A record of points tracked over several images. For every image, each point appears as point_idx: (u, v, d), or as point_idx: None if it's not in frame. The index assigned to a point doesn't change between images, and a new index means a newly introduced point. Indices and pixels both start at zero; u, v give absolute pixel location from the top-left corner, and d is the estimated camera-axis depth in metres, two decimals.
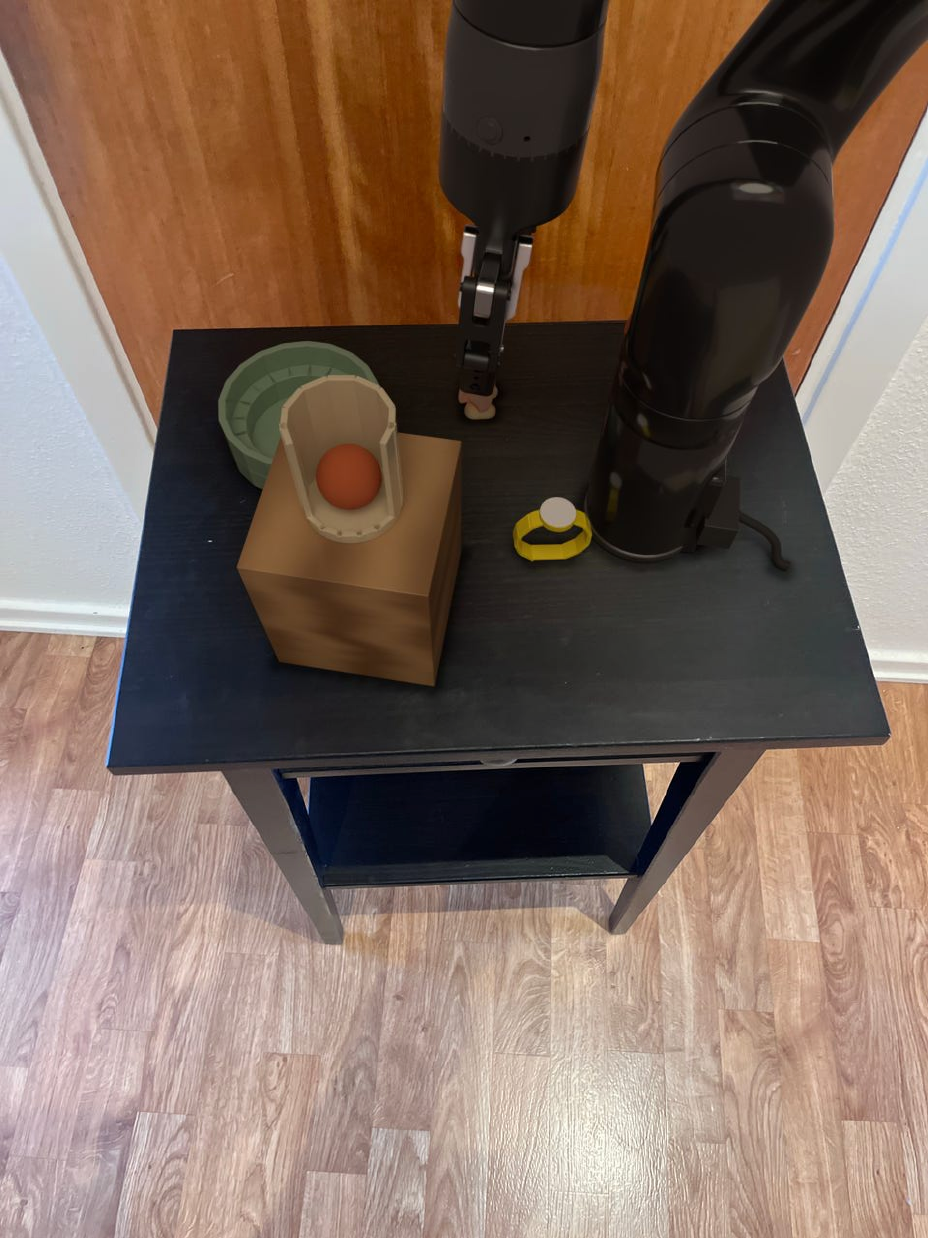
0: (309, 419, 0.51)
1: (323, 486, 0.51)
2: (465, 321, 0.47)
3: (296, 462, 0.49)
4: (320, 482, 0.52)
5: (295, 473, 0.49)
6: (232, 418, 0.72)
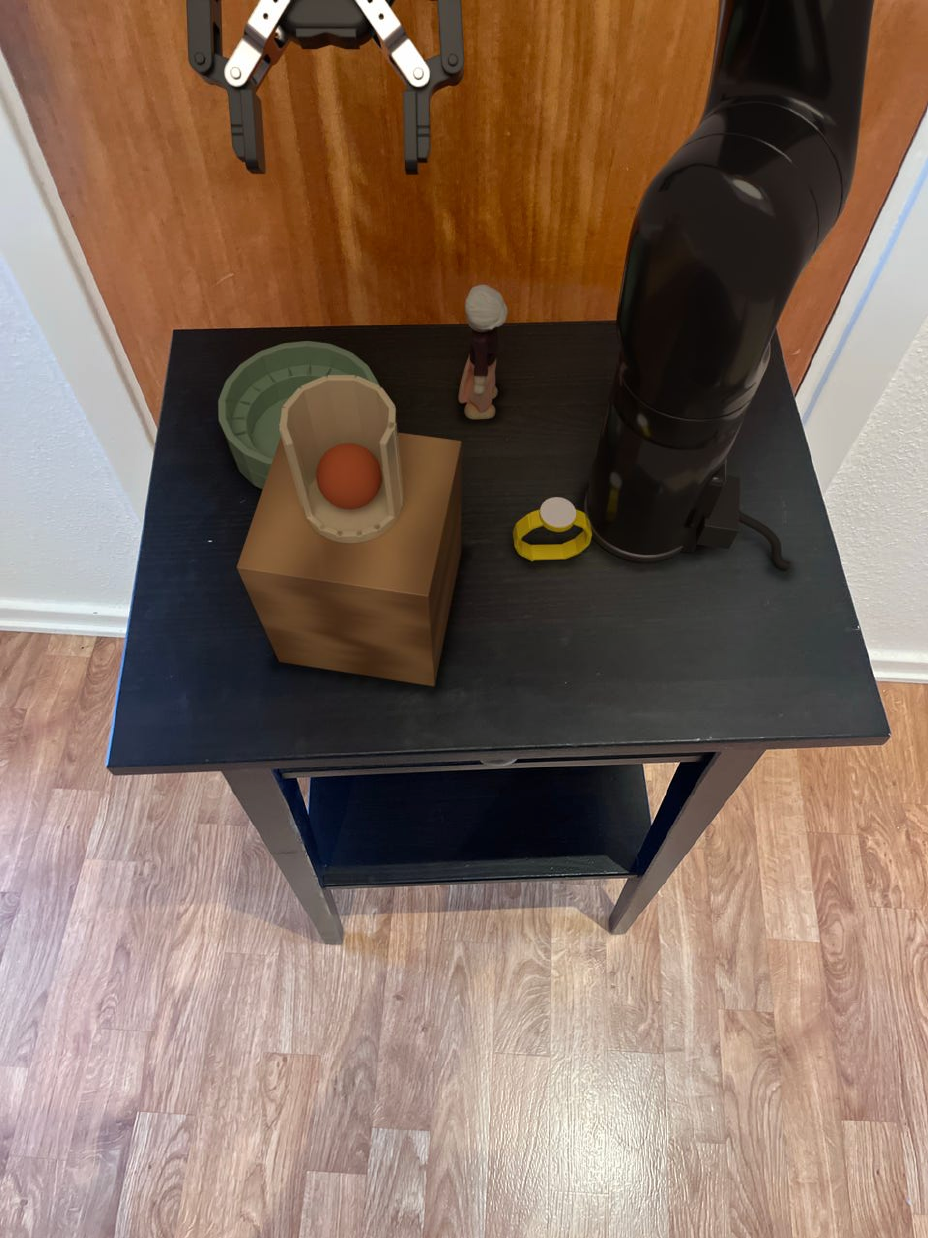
0: (309, 419, 0.51)
1: (323, 485, 0.51)
2: None
3: (296, 462, 0.49)
4: (320, 481, 0.52)
5: (295, 473, 0.49)
6: (232, 418, 0.72)
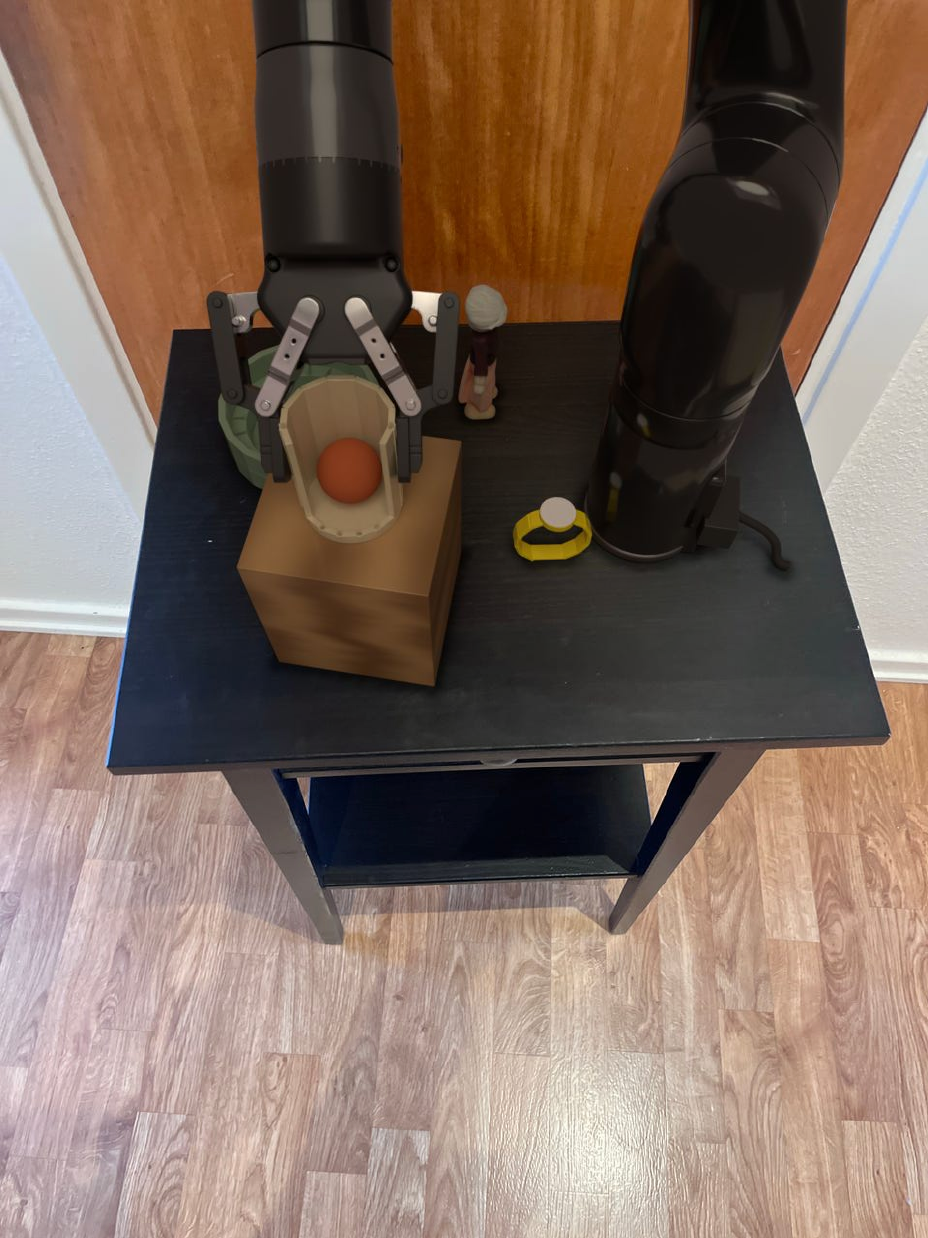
0: (309, 419, 0.51)
1: (323, 474, 0.52)
2: None
3: (296, 462, 0.49)
4: (320, 471, 0.52)
5: (295, 473, 0.49)
6: (232, 418, 0.72)
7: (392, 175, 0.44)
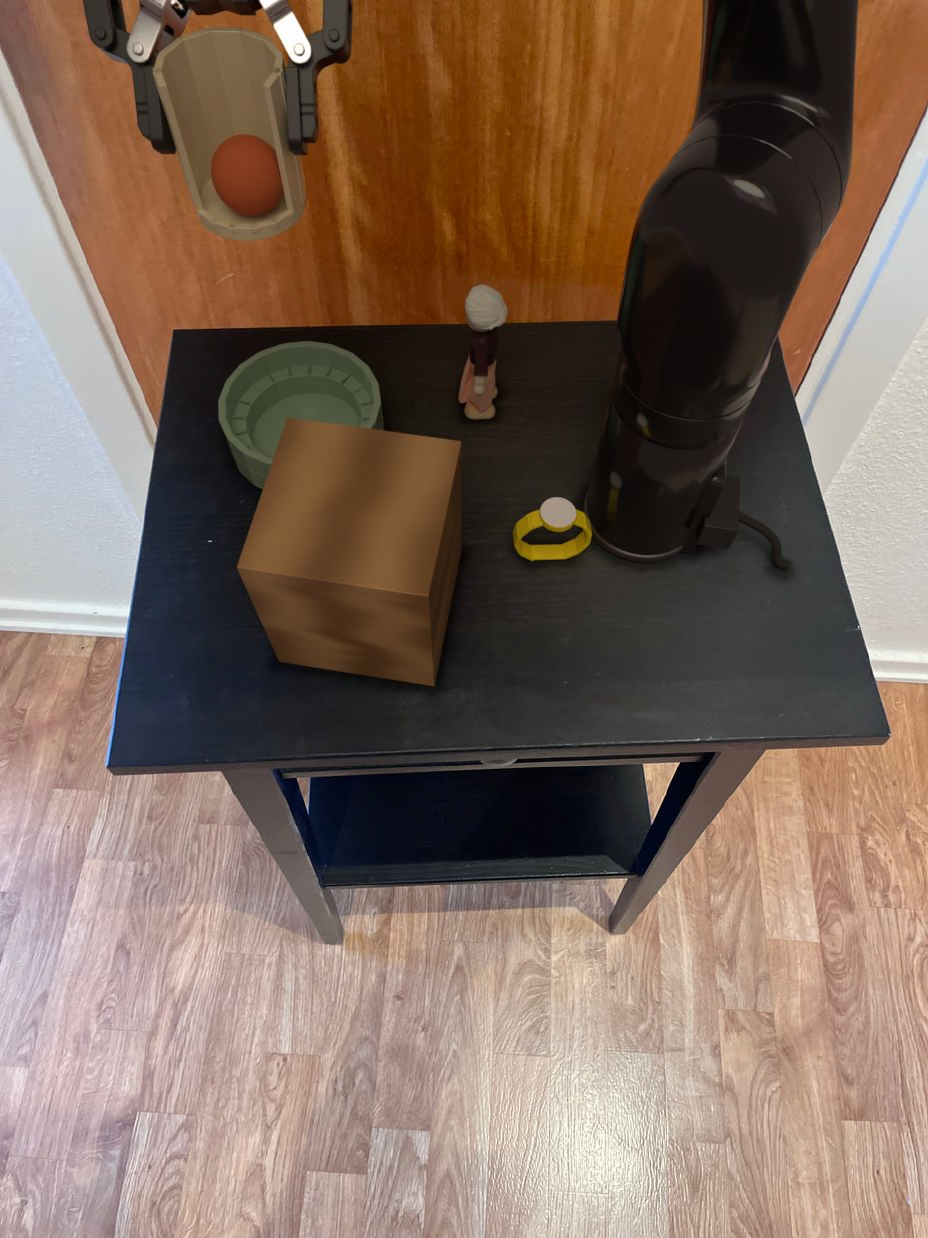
0: (194, 87, 0.46)
1: (214, 179, 0.47)
2: None
3: (174, 117, 0.44)
4: (212, 173, 0.47)
5: (175, 136, 0.45)
6: (232, 418, 0.72)
7: None
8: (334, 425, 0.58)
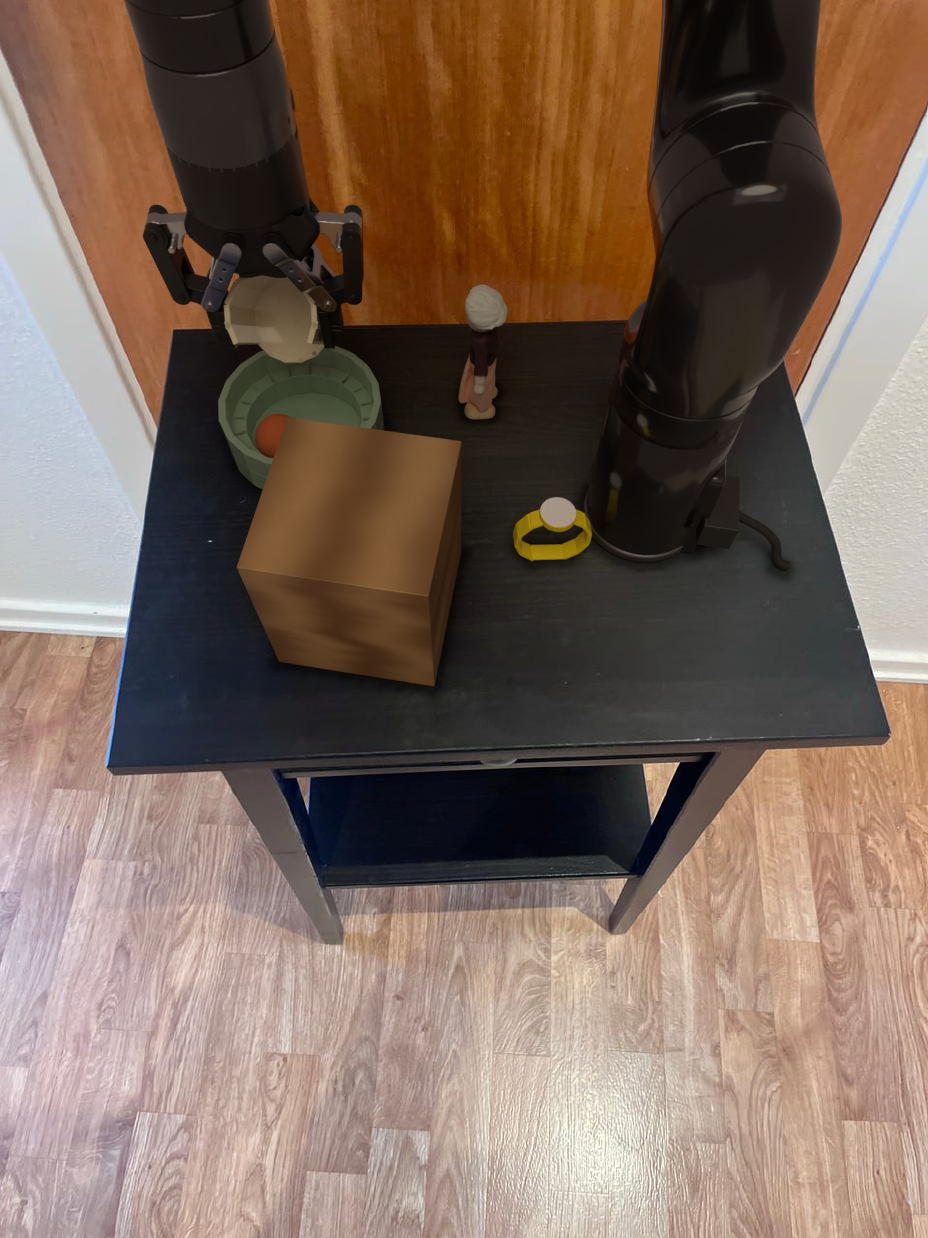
0: (246, 288, 0.61)
1: None
2: None
3: (243, 343, 0.62)
4: None
5: (243, 344, 0.62)
6: (232, 418, 0.72)
7: (288, 150, 0.48)
8: (334, 425, 0.58)
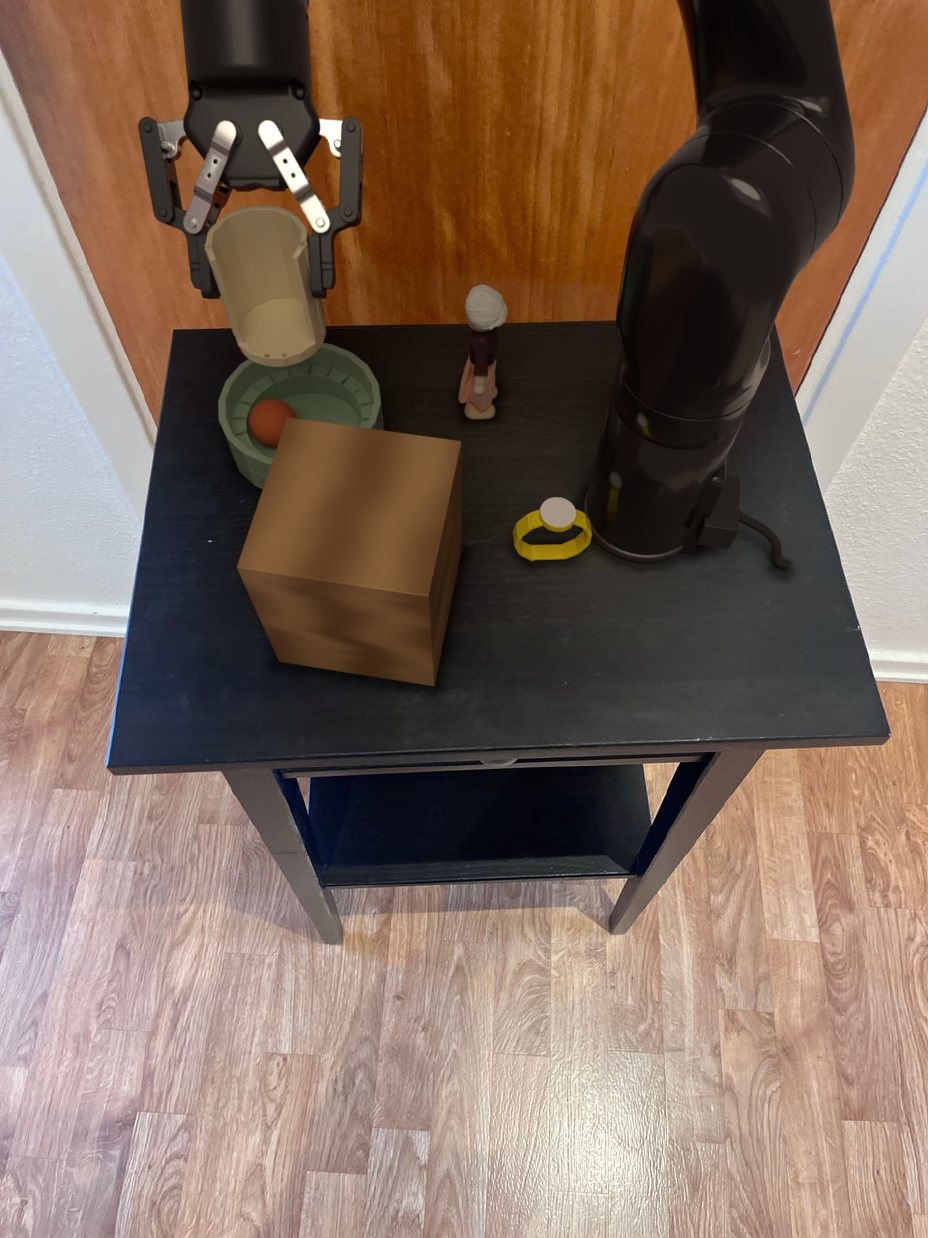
0: (235, 249, 0.58)
1: None
2: None
3: (221, 280, 0.55)
4: None
5: (222, 293, 0.56)
6: (232, 418, 0.72)
7: (297, 8, 0.51)
8: (334, 425, 0.58)
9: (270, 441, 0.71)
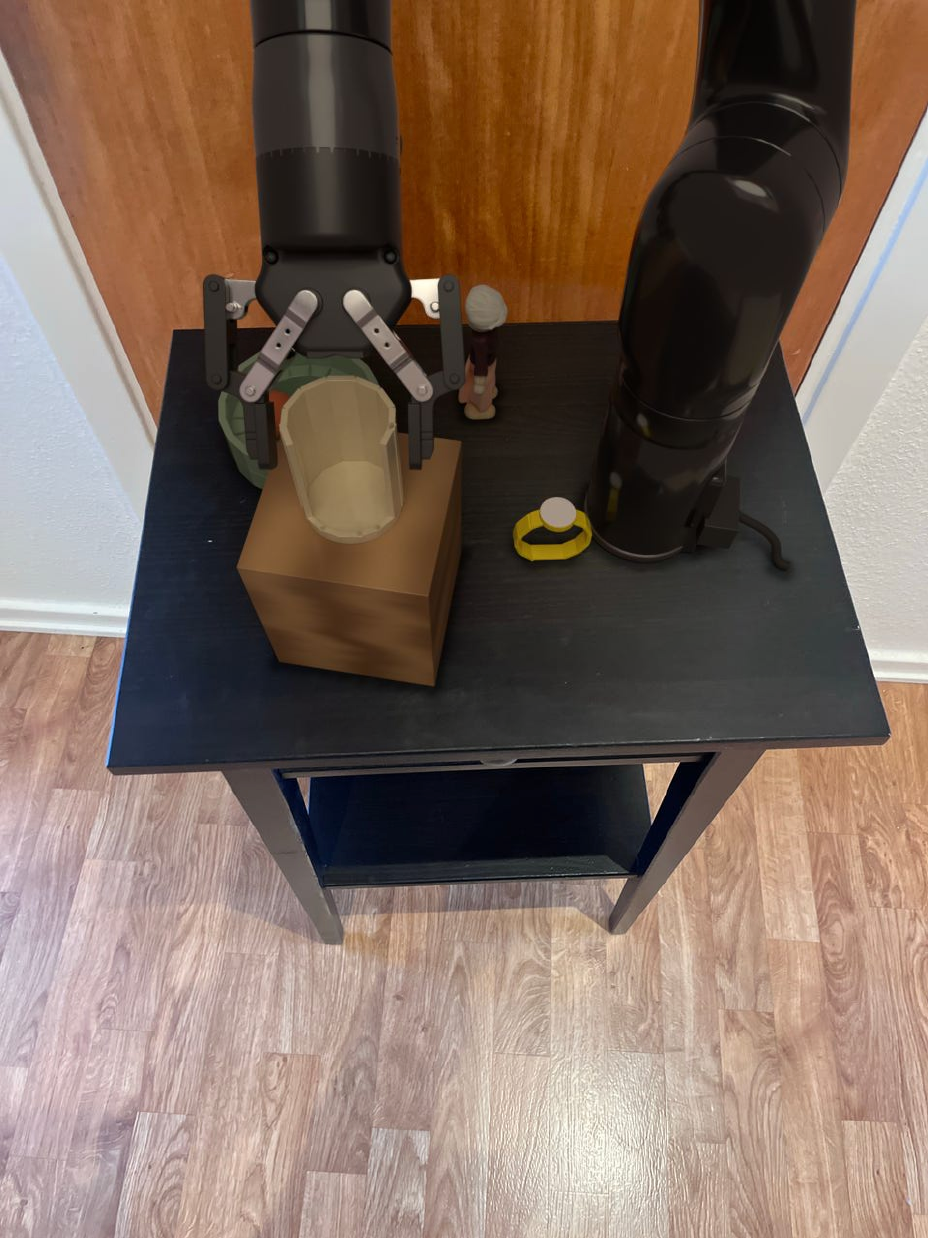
0: (309, 420, 0.51)
1: None
2: None
3: (296, 463, 0.49)
4: None
5: (295, 474, 0.49)
6: (232, 418, 0.72)
7: (391, 166, 0.44)
8: None
9: None
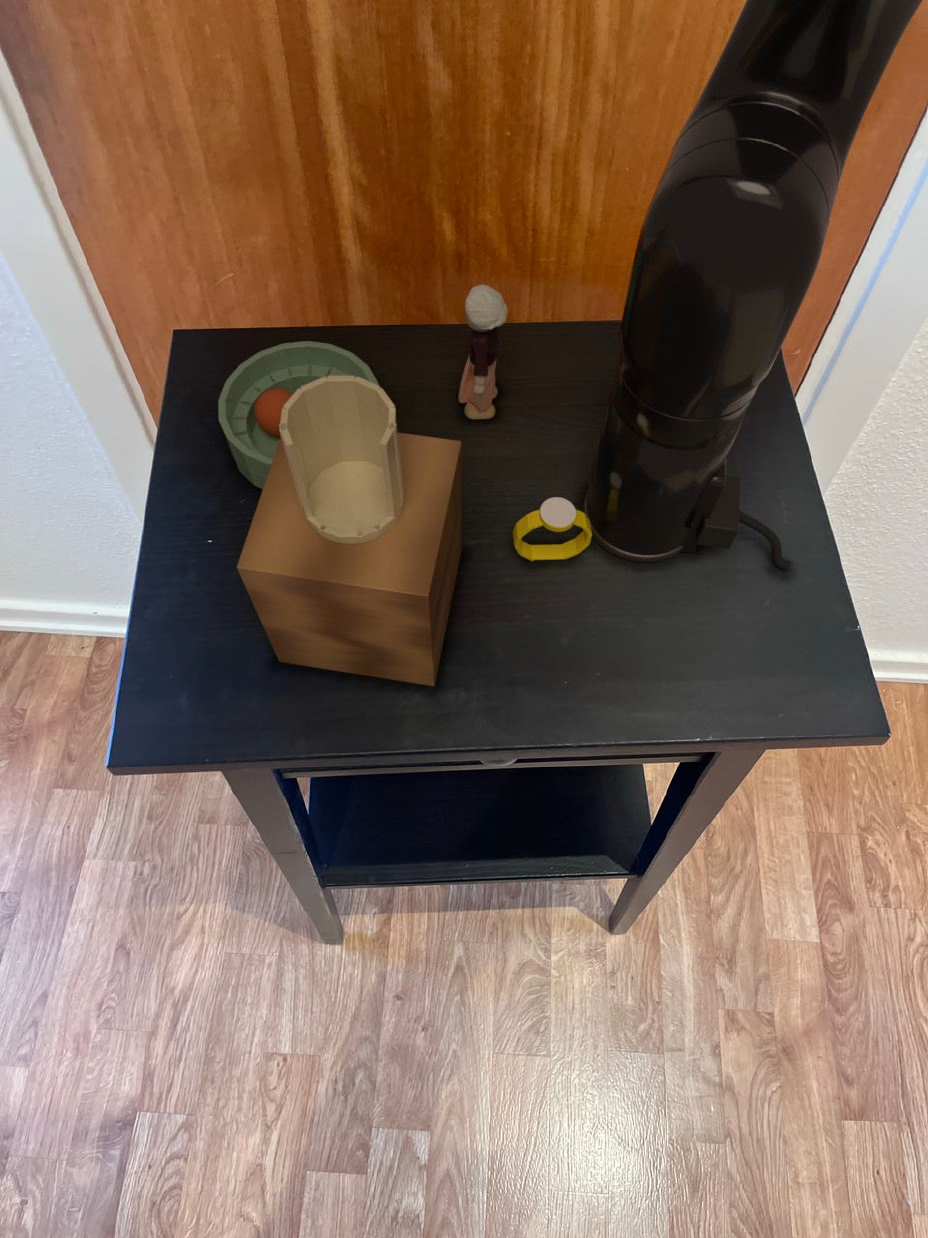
0: (309, 420, 0.51)
1: None
2: None
3: (296, 463, 0.49)
4: None
5: (295, 474, 0.49)
6: (232, 418, 0.72)
7: None
8: None
9: (276, 419, 0.71)
